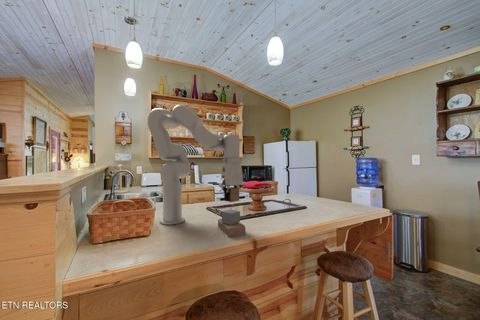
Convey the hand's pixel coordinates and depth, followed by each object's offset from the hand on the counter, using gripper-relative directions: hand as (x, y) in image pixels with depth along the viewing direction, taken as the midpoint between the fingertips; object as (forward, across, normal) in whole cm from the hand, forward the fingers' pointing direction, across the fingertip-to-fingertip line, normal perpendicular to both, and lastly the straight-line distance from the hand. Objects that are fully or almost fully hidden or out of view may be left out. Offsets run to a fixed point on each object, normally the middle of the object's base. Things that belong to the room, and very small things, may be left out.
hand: (231, 199), depth 106 cm
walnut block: (+1, 0, 0) cm, 1 cm away
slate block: (+11, -1, -1) cm, 11 cm away
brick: (+15, -1, 0) cm, 15 cm away
